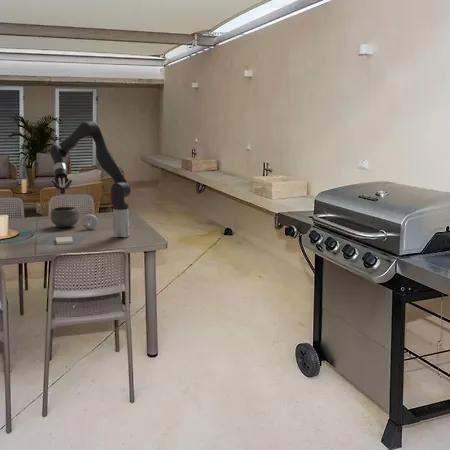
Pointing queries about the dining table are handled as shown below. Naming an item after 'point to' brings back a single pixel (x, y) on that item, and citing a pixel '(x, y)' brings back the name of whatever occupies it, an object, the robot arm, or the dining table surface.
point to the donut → (91, 217)
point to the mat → (52, 238)
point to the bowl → (64, 216)
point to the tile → (64, 240)
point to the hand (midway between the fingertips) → (62, 193)
